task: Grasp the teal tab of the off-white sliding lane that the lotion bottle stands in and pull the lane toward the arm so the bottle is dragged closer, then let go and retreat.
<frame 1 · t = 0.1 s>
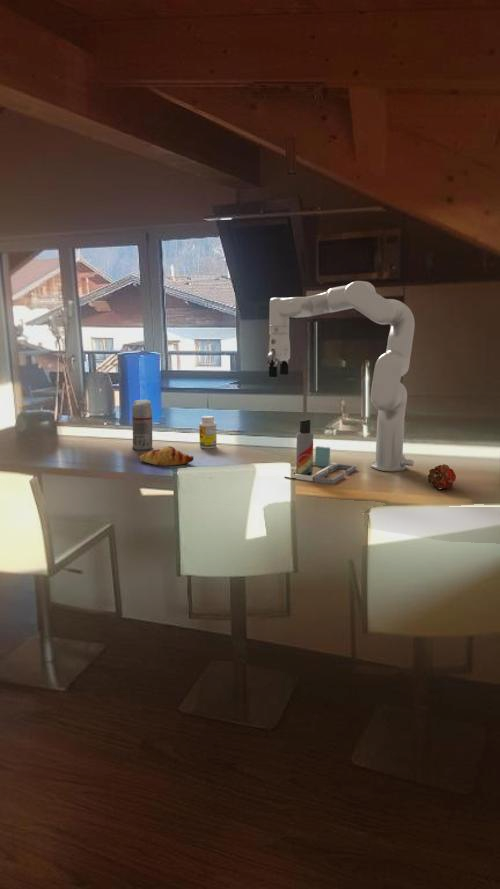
hand: (278, 375, 259), 31 cm above the worktop, tool pointing down, fingers open, 9 cm apart
lotion bottle: (304, 476, 233), resting in lane sled
supplement bottle: (208, 447, 279), on the worktop
lane sled: (311, 462, 237), point 4 cm above the worktop, slide at 0.0 cm
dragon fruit: (440, 488, 219), on the worktop
croissant: (166, 464, 252), on the worktop
grey open frame: (335, 475, 234), on the worktop
spray can: (143, 448, 276), on the worktop
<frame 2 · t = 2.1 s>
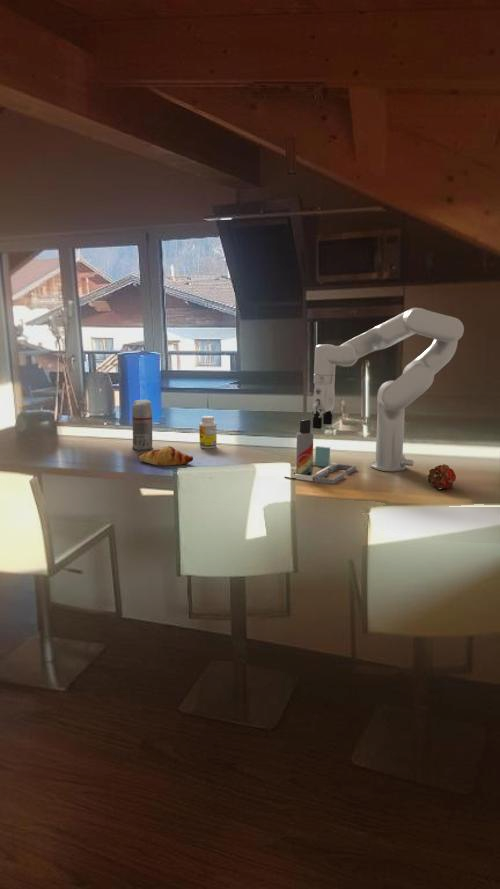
hand: (322, 426, 244), 15 cm above the worktop, tool pointing down, fingers open, 9 cm apart
nothing on the worktop moved.
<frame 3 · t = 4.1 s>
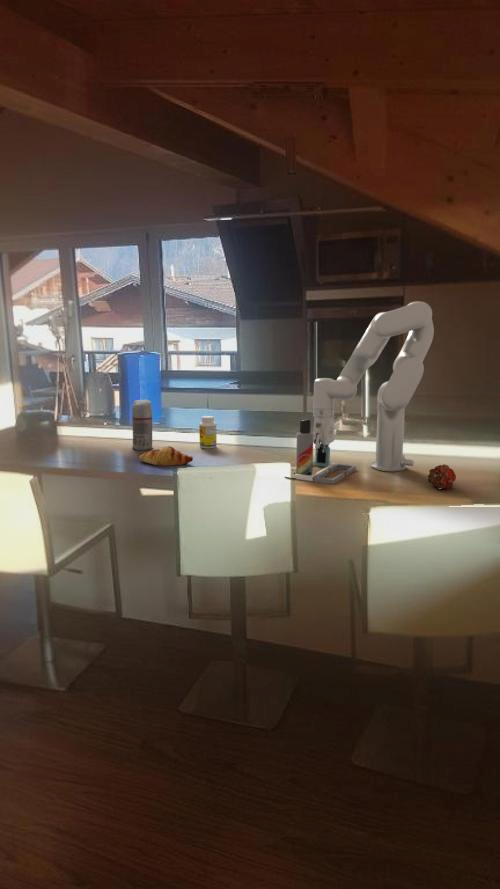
hand: (322, 461, 247), 2 cm above the worktop, tool pointing down, fingers closed on lane sled
lane sled: (311, 462, 237), point 4 cm above the worktop, slide at 0.0 cm, touching gripper
everything else where it was.
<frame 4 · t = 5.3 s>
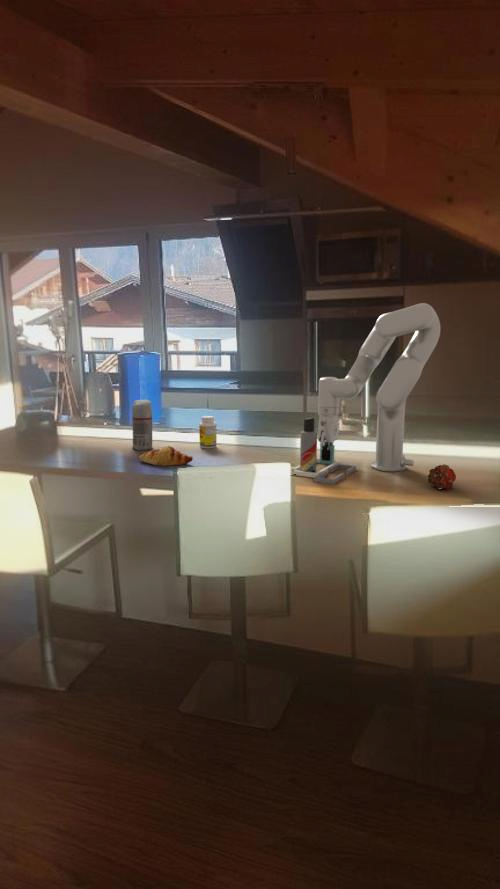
hand: (327, 459, 251), 2 cm above the worktop, tool pointing down, fingers closed on lane sled
lotion bottle: (308, 474, 236), resting in lane sled
lane sled: (316, 459, 241), point 4 cm above the worktop, slide at 4.4 cm, touching gripper
everything else where it was.
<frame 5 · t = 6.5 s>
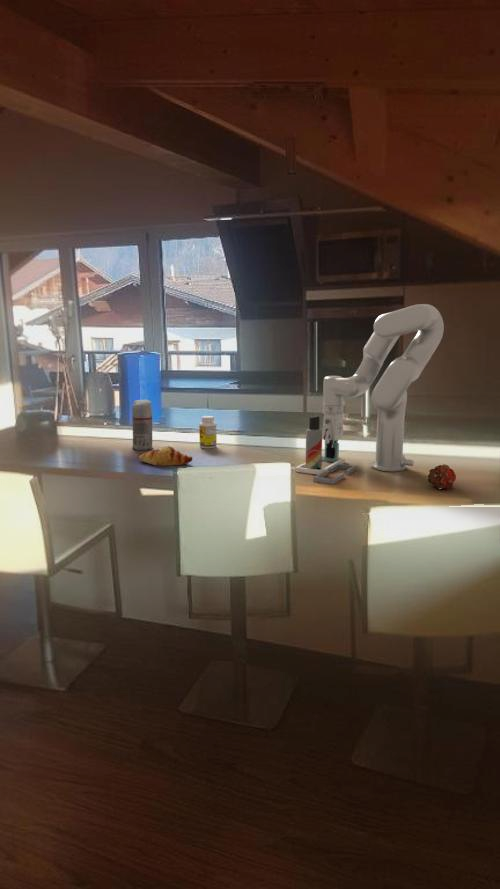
hand: (331, 456, 255), 2 cm above the worktop, tool pointing down, fingers closed on lane sled
lotion bottle: (313, 471, 240), resting in lane sled
lane sled: (321, 457, 245), point 4 cm above the worktop, slide at 9.0 cm, touching gripper, lotion bottle
everything else where it was.
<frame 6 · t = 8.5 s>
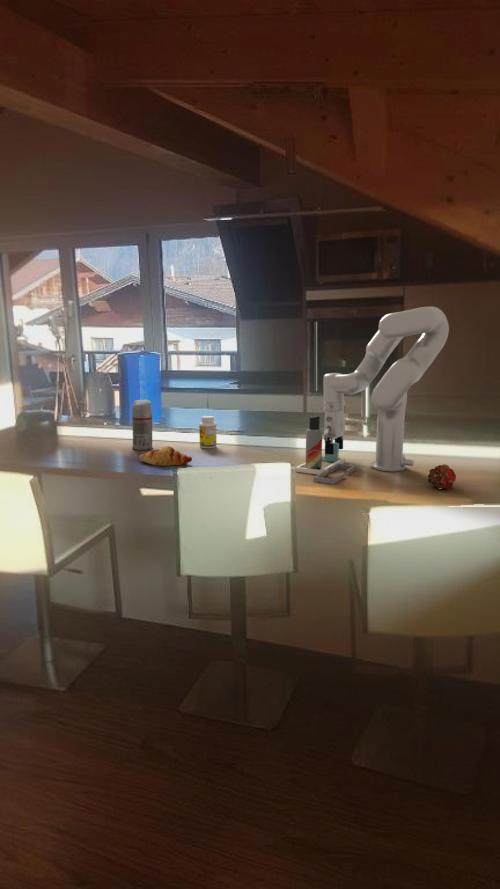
hand: (334, 451, 254), 4 cm above the worktop, tool pointing down, fingers open, 9 cm apart
lotion bottle: (313, 471, 240), resting in lane sled
lane sled: (321, 457, 245), point 4 cm above the worktop, slide at 9.0 cm
everything else where it was.
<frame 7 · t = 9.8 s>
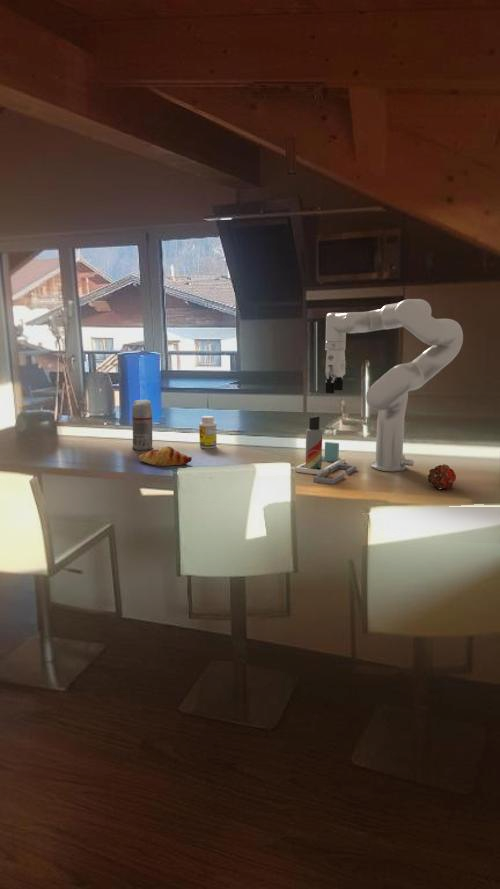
hand: (334, 391, 255), 26 cm above the worktop, tool pointing down, fingers open, 9 cm apart
nothing on the worktop moved.
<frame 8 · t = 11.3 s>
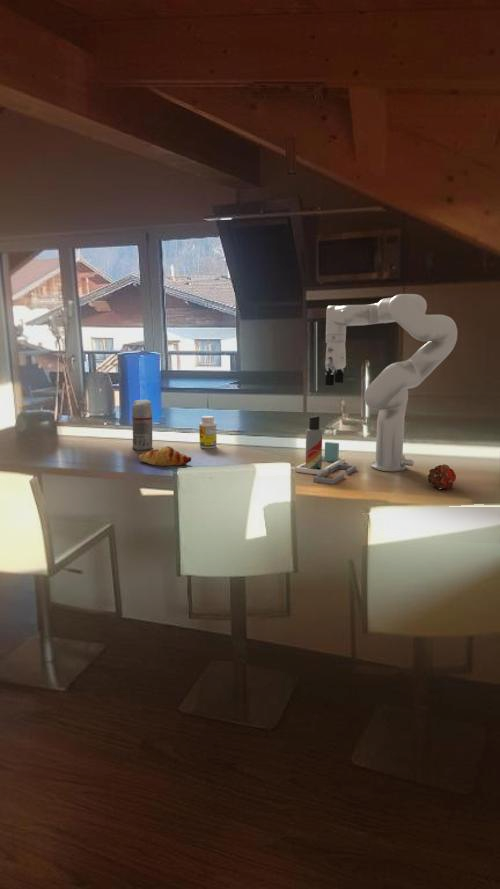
hand: (334, 383, 258), 28 cm above the worktop, tool pointing down, fingers open, 9 cm apart
nothing on the worktop moved.
at the end: lane sled slide at 9.0 cm; lotion bottle inside the target area (0.7 cm from its centre), resting in lane sled; lotion bottle tilted 0° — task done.
